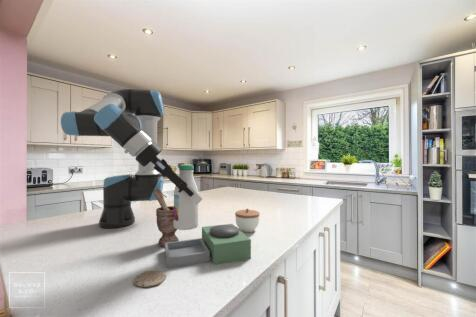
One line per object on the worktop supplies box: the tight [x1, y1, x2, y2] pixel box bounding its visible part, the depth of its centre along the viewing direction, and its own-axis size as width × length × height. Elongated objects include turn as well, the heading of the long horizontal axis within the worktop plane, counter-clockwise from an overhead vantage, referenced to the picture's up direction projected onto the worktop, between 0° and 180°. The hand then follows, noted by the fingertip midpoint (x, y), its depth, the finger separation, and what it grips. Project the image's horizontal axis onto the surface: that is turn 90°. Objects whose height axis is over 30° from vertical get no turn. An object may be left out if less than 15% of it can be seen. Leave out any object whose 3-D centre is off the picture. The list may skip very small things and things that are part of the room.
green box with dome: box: [201, 223, 252, 266], centre depth 77 cm, size 18×12×7 cm, turn 21°
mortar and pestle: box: [154, 189, 180, 248], centre depth 84 cm, size 12×9×20 cm
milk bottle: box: [173, 164, 199, 231], centre depth 72 cm, size 8×8×20 cm
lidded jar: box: [234, 208, 260, 233], centre depth 99 cm, size 11×11×9 cm
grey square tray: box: [164, 237, 211, 269], centre depth 73 cm, size 13×13×3 cm
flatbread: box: [133, 270, 167, 288], centre depth 59 cm, size 8×8×1 cm
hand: (196, 199), depth 73 cm, fingers closed on milk bottle, 7 cm apart
